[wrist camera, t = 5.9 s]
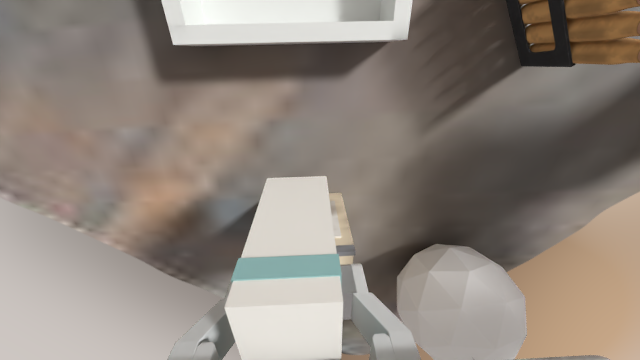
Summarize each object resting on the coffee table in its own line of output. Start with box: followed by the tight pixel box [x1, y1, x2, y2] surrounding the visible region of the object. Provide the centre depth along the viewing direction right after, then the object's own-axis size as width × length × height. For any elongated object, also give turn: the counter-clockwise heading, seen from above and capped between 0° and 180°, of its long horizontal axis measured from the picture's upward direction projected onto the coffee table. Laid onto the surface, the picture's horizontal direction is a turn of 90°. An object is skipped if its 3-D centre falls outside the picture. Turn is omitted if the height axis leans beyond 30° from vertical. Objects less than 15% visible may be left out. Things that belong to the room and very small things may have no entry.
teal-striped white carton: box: [224, 176, 343, 360], centre depth 11 cm, size 3×8×7 cm, turn 1°
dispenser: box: [329, 193, 355, 264], centre depth 26 cm, size 9×6×10 cm
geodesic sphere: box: [397, 244, 527, 360], centre depth 30 cm, size 15×14×14 cm
